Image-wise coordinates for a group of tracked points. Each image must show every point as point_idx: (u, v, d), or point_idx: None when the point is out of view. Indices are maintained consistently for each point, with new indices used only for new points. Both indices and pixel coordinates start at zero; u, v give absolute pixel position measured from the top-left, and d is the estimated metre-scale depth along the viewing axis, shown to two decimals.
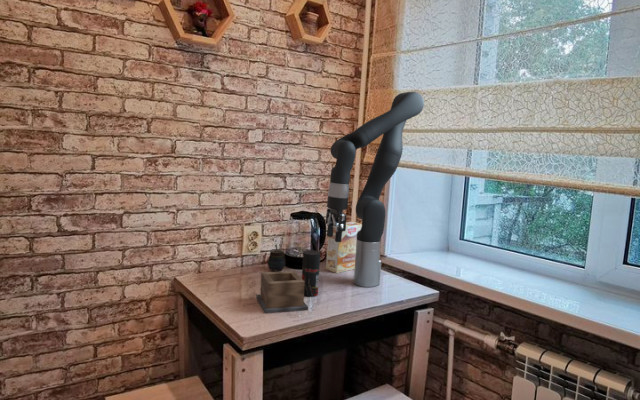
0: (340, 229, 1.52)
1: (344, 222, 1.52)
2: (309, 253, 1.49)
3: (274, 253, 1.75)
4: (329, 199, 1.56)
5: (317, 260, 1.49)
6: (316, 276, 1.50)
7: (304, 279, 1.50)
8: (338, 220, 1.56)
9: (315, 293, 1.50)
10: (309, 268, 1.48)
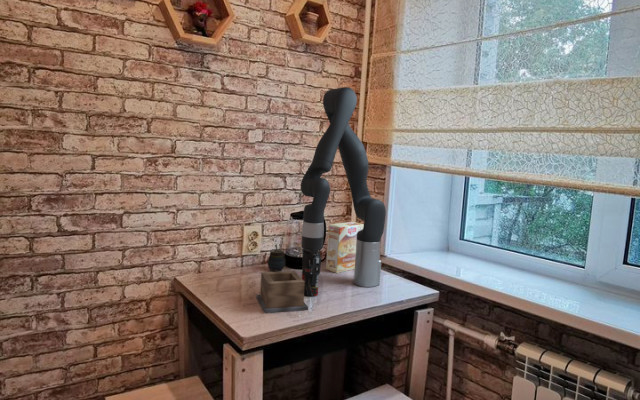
0: (314, 272, 1.45)
1: (318, 265, 1.45)
2: (309, 253, 1.49)
3: (274, 253, 1.75)
4: (303, 239, 1.48)
5: None
6: None
7: (304, 279, 1.50)
8: None
9: (315, 293, 1.50)
10: (309, 268, 1.48)
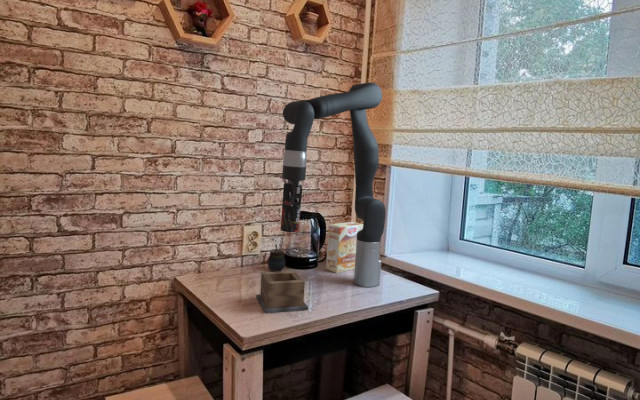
0: (294, 203, 1.34)
1: (299, 196, 1.34)
2: None
3: (274, 253, 1.75)
4: (284, 169, 1.37)
5: None
6: None
7: (284, 213, 1.39)
8: None
9: (295, 229, 1.39)
10: (289, 200, 1.37)
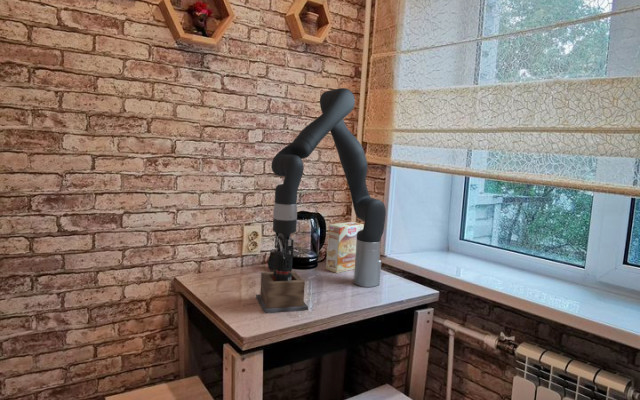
0: (287, 256, 1.33)
1: (291, 248, 1.33)
2: (280, 254, 1.38)
3: None
4: (274, 222, 1.36)
5: None
6: (288, 278, 1.39)
7: None
8: None
9: None
10: (280, 270, 1.38)
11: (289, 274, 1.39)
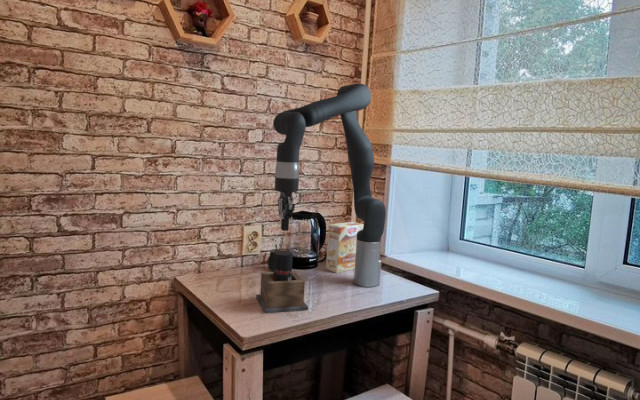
0: (285, 216, 1.35)
1: (291, 212, 1.34)
2: (280, 254, 1.38)
3: None
4: (276, 181, 1.35)
5: (289, 261, 1.38)
6: (288, 278, 1.39)
7: None
8: None
9: None
10: (280, 270, 1.38)
11: (289, 274, 1.39)
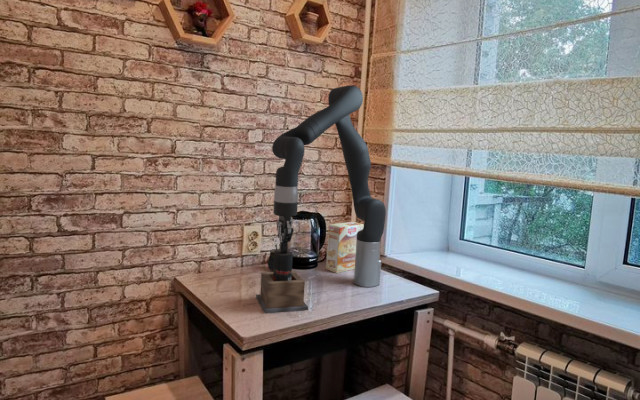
0: (284, 240, 1.36)
1: (289, 236, 1.35)
2: (280, 254, 1.38)
3: None
4: (275, 205, 1.36)
5: (289, 261, 1.38)
6: (288, 278, 1.39)
7: None
8: None
9: None
10: (280, 270, 1.38)
11: (289, 274, 1.39)
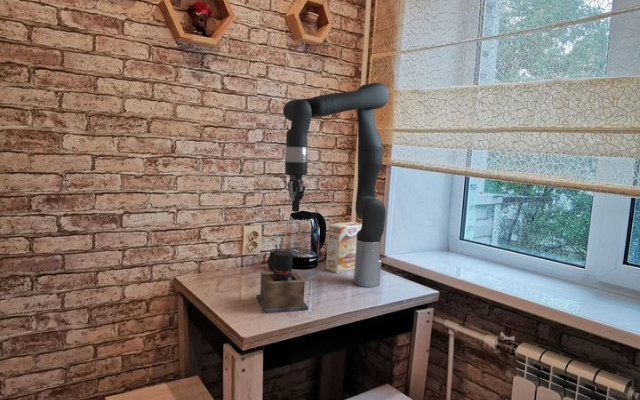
0: (296, 198, 1.44)
1: (301, 193, 1.43)
2: (280, 254, 1.38)
3: None
4: (286, 165, 1.43)
5: (289, 261, 1.38)
6: (288, 278, 1.39)
7: None
8: None
9: None
10: (280, 270, 1.38)
11: (289, 274, 1.39)
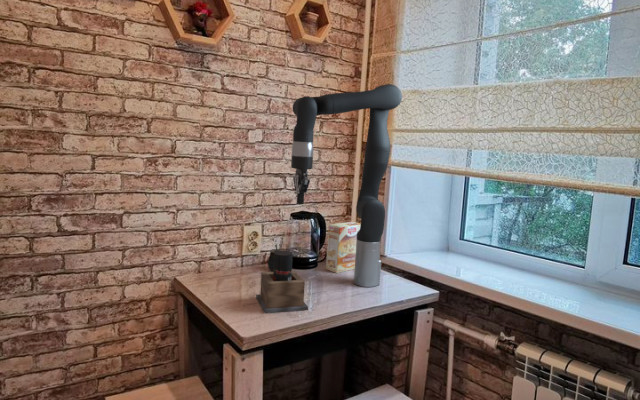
0: (301, 190, 1.50)
1: (306, 186, 1.49)
2: (280, 254, 1.38)
3: None
4: (293, 159, 1.50)
5: (289, 261, 1.38)
6: (288, 278, 1.39)
7: None
8: None
9: None
10: (280, 270, 1.38)
11: (289, 274, 1.39)
